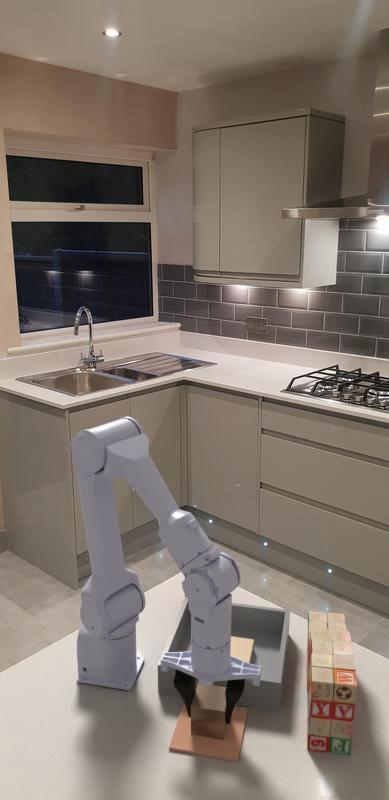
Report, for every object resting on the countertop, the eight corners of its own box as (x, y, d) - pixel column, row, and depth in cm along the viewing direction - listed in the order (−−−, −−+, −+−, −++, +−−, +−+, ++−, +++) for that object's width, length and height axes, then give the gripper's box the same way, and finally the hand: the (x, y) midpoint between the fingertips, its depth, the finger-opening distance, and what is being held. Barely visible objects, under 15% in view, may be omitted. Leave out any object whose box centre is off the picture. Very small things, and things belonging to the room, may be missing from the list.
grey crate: (158, 693, 104) (157, 664, 103) (185, 622, 123) (185, 596, 121) (279, 712, 100) (280, 683, 99) (288, 636, 119) (290, 610, 117)
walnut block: (190, 734, 95) (190, 706, 94) (197, 710, 100) (198, 682, 98) (224, 740, 94) (224, 711, 93) (229, 715, 99) (230, 687, 97)
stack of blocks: (305, 656, 113) (309, 594, 110) (342, 659, 112) (346, 597, 109) (306, 752, 93) (311, 679, 89) (351, 757, 92) (357, 684, 88)
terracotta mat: (169, 749, 93) (169, 747, 93) (184, 700, 102) (184, 698, 102) (237, 761, 91) (237, 759, 91) (247, 711, 100) (247, 708, 100)
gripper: (154, 647, 90) (155, 727, 94) (258, 662, 87) (255, 744, 91) (167, 617, 97) (168, 693, 100) (264, 630, 94) (261, 708, 97)
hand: (209, 715), depth 96 cm, fingers closed on walnut block, 5 cm apart
